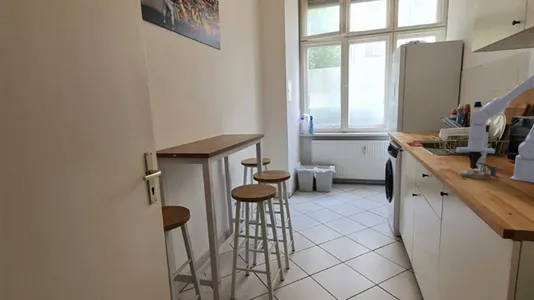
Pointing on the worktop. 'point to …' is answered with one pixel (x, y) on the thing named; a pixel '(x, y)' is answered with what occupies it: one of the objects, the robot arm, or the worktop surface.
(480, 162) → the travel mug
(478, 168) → the hinged leg
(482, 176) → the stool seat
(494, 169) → the block
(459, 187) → the worktop surface
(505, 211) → the worktop surface
